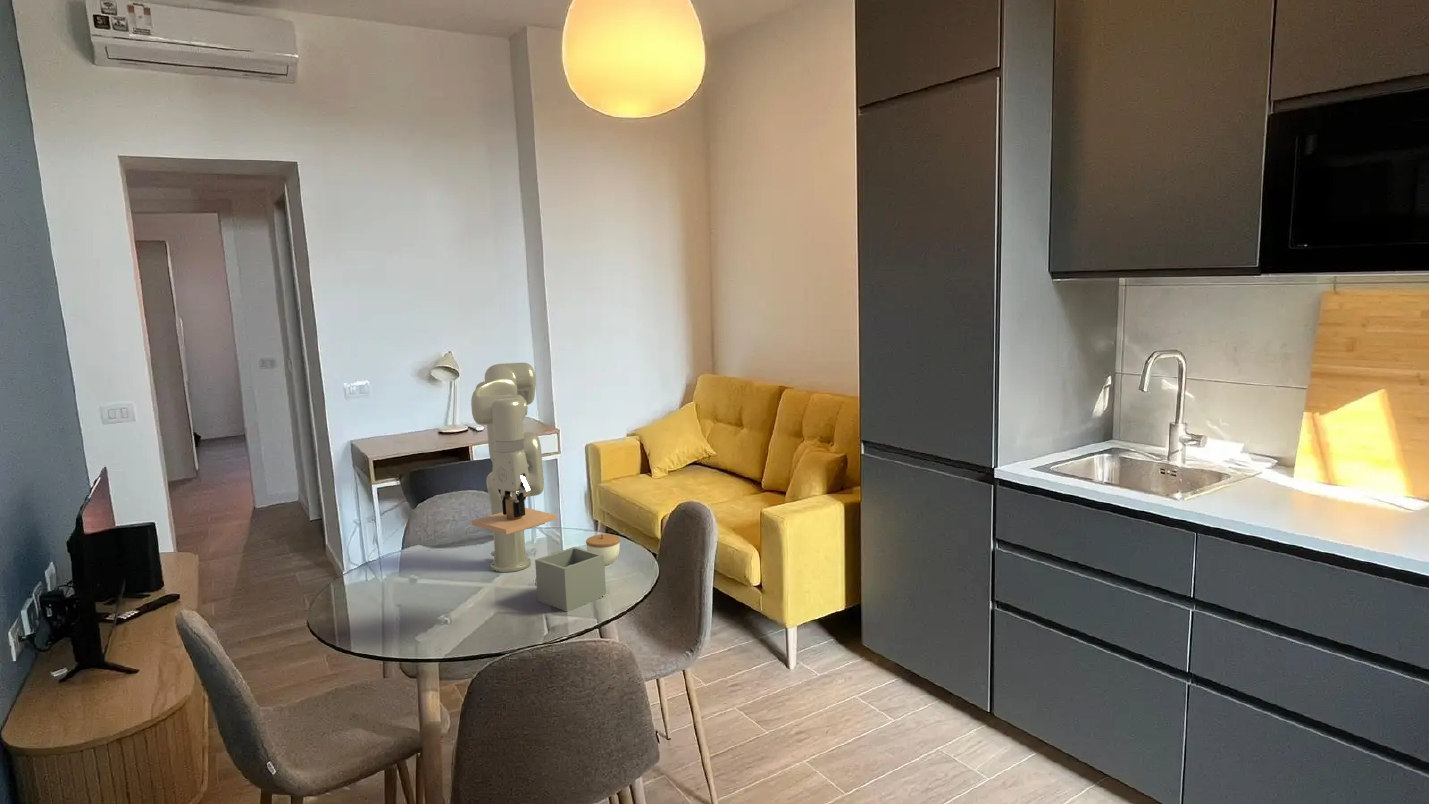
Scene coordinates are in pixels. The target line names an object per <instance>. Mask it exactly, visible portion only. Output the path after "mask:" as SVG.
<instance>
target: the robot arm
mask: <svg viewBox="0 0 1429 804" xmlns="http://www.w3.org/2000/svg"><path fill="white" fill-rule="evenodd" d="M536 385H537V378H536V373H535V370H534V368H533V366H532V365H531V364H530V363H528V362H509V363H508V362H507V363H505V362H504V363H497V364H492V365H491V366H489V367H488V368H487V369H486V371H485V373H484V381H481V382H479V383H478V384H476V387H475V389H474V391H473V393H472V395H471V400H470V402H471V403H470V405H471V407H470V408H471V415H472V418H473V421H474V422H475V423H476V424H477V425H481V426H482V425H483V426H486V430H487V444H488V454H489V459H490V460H491V462H492V471H490V472H489V474H488V475H486V489H487V493H488V497H489V503H490V509H491V515H494V514H498V513H501V512H503V515H506V502H505V500H506V499H507V498H512V497H514V501H515V502H514V503H513V510H514V517H515V518H517V517H521V516H524V515H525V508H526V505H525V502H526V500H527V498H528V497H536V496H539V495H541V494H542V493H543V491H544V490H545V489H544V488H545V481H544V480H545V478H544V467H543V455H542V446H541V445H542V444H541V442H540V438H539V436H538V435H537V434H536V433H535V432H531V431H530V432H529V431H527V432H526V431H525V432H524V420H525V418H526V416H527V415H528V409H529V408H528V405H531V404H532V403H533V402H534V399H535V397H536V396H535V394H536ZM492 532H493V533H492V534H493V536H492V537H493V549H494V550H493V551H491V552H490V555H491V556H492V557H493V558H494V559H493V561H492V562H491V563H490V569H491V570H492V569H493V570H492V571H494V570H496V571H495V572H497V571H499V573H510V572H512V573H513V572H517V571H518V572H519V571H521V570H522V571H523V570H524V569H527V568H528V567H530V566H531V564H532V560H531V558H530V557H528V556H527V555H526V541H525V530H522V531H519V532H516V533H512V534H503V533H499V532H496V531H492Z"/></svg>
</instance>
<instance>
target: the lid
mask: <svg viewBox="0 0 1429 804" xmlns="http://www.w3.org/2000/svg"><path fill="white" fill-rule="evenodd" d="M505 502H506V515H503V512H501V513H498V514H494V515H492V514H490V515H488V516H483V517H479V518H476V519H472V520H471V525H472V526H475V527H478V528H481V529H485V530H489V531H492V532H493V531H496V532H499V533H503V534H512V533H516V532H519V531H522V530H524V531H526V530H529V529H533V528H535V527H539V526H542V525H545V524H546V523H549V522H553V521H556V520H558V514H556V513H555V514H554V513H552V512H551V513H550V512H545V511H543V510H542V511H541V510H537V509H533V508H529V507H525V515H524V516H521V517H517V518H515V517H514V510H513V503H514V502H515V501H514V497H512V498H507V499H506V500H505Z"/></svg>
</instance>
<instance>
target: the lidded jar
mask: <svg viewBox="0 0 1429 804" xmlns="http://www.w3.org/2000/svg"><path fill="white" fill-rule="evenodd" d="M585 544H586V550H587V551H591V552H594V553H598V554H601V555H604V566H609V565H612V564H613V563H614V562H615V560H616V559H617V558H618V557H619V553H620V549H621V548H620V547H621V538H620V536H619V535H616V534H611V533H601V534H596V535H591V536H590V537H588V538H587V539H586V540H585ZM613 561H614V562H613ZM612 562H613V563H612ZM611 563H612V564H611ZM608 564H609V565H608Z"/></svg>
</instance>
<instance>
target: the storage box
mask: <svg viewBox="0 0 1429 804" xmlns="http://www.w3.org/2000/svg"><path fill="white" fill-rule="evenodd" d="M534 562H535V563H534V564H535V580H536V593H537V601H538V602H540V603H543V604H545V605H548V606H551V607H554V608H555V609H559V610H562V611H563V612H570V611H573V610H575V609H577V608H580V607H581V606H585V605H587V604H589V603H590V604H591V603H592V602H595V601H597V600H599V598H600V597H602V596H603V595H605V594H606V595H607V589H606V588H607V587H606V571H605V569H606V567H605V566H606V565H604V555H601V554H598V553H594V552H591V551H587V549H583V548H581V547H576V546H573V547H569V548H566V549H563V550H561V551H557V552H555V553H552V554H548V555H546V556H542V557H540V558H537V559H535V560H534ZM568 565H570V566H568ZM602 598H603V597H602ZM600 599H601V598H600Z"/></svg>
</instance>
